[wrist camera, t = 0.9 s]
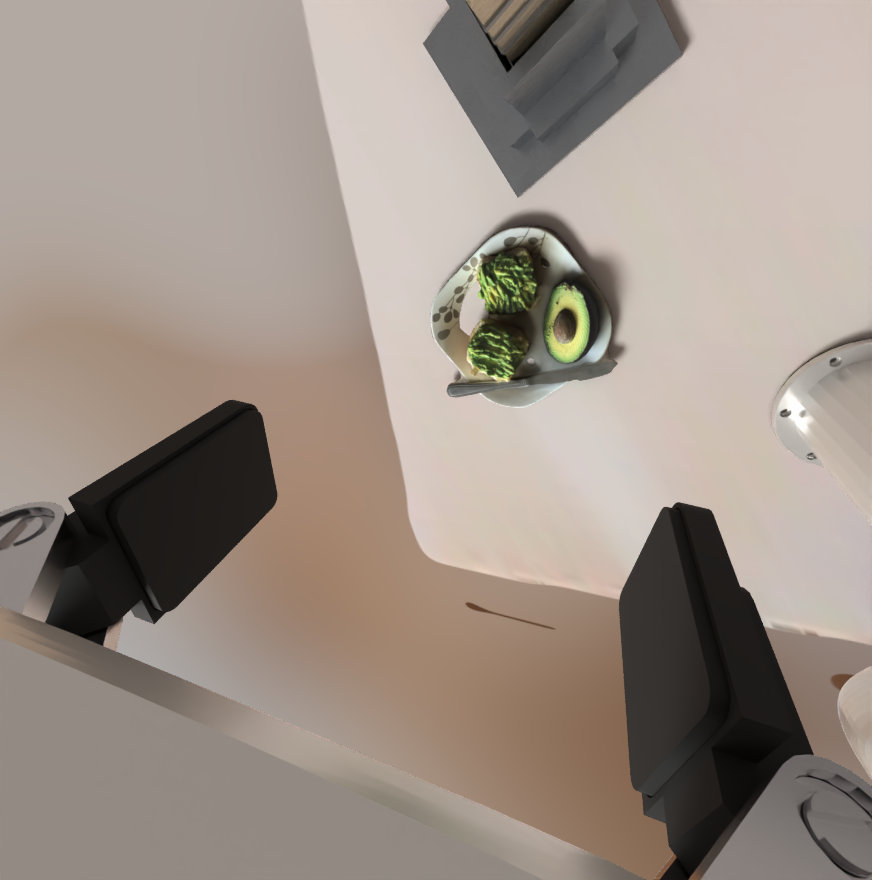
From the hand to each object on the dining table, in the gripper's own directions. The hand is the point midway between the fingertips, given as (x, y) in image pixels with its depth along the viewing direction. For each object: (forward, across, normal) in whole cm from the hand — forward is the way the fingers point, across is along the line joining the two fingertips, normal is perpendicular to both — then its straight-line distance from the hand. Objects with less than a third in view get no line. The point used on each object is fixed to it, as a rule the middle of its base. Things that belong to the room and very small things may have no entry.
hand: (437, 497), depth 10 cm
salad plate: (+38, +2, +7) cm, 38 cm away
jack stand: (+37, +4, -15) cm, 40 cm away
